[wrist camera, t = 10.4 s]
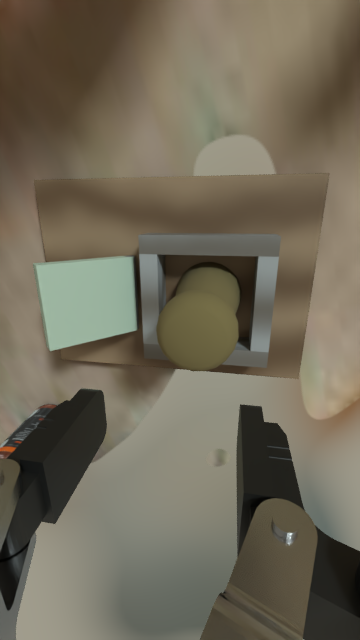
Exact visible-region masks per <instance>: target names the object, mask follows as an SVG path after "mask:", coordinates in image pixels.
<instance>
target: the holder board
mask: <svg viewBox="0 0 360 640" xmlns="http://www.w3.org/2000/svg"><path fill="white" fill-rule="evenodd" d="M328 180H329V173H315V174H272V175H231V176H230V175H229V176H186V177H143V178H100V179H57V180H34V185H35V192H36V198H37V205H38V211H39V218H40V224H41V231H42V237H43V244H44V250H45V257H46V262H57V261H69V260H81V259H92V258H104V257H116V256H128V255H133V256H135V260H136V279H137V298H138V317H139V329H137V330H136V331H132V332H128V333H124V334H119V335H115V336H111V337H107V338H103V339H99V340H94V341H90V342H86V343H82V344H78V345H74V346H69V347H65V348H61V349H60V355H61V359H65V360H77V361H89V362H101V363H114V364H126V365H138V366H150V367H162V368H174V369H184V368H180V367H179V366H177V365H176V364H174V363H172V362H171V361H170V360H169V359H168V358H167V357H166V356H165V355H164V354H163V352H162V350H161V348H160V346H159V344H158V340H157V332H156V327H157V322H158V317H159V315H160V313H161V311H162V310H163V308H164V306H165V305H166V304H167V303H168V302H169V301H170V300H171V299H172V298H174V297H175V295H176V291H177V286H178V282H179V280H180V278H181V277H182V275H183V273H184V272H185V271H187V270H188V269H189V268H190V267H191V266H194V265H196V264H199V263H201V262H215V263H219V264H222V265H224V266H225V267H227V268H229V269H230V270H231V271H232V272H233V273H234V274H235V276H236V277H237V278H238V281H239V283H240V286H241V301H240V304H239V307H238V310H237V312H236V314H235V316H236V318H237V321H238V336H239V338H238V341H237V344H236V347H235V349H234V351H233V352H232V354H231V355H230V356H229V358H228V359H227V360H226V361H225V362H224V363H222V364H221V365H219V366H218V367H216V368H213V369H210V370H206V371H210V372H223V373H235V374H247V375H260V376H270V377H284V378H295V379H298V378H299V372H300V365H301V359H302V352H303V345H304V339H305V332H306V326H307V319H308V312H309V306H310V299H311V292H312V286H313V279H314V273H315V266H316V259H317V253H318V246H319V240H320V233H321V226H322V220H323V213H324V207H325V200H326V193H327V187H328Z"/></svg>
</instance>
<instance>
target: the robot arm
mask: <svg viewBox="0 0 360 640" xmlns="http://www.w3.org/2000/svg"><path fill="white" fill-rule="evenodd" d="M106 428H107V423H106V413H105V403H104V395H103V392H102V391H101V390H93V389H80V390H79V391H78V392H77V394H76V395H75V396H74V397H73V398H72V399H71V400H70V401H67V400H66V401H64V402H63V403H61V404H59V405H58V406H56V407H54V408H53V409H52V410H51V411H50V412H49V413H48V414H47V415H46V417H45V418H44V420H42V421H41V422H40V423H39V424H38V425H37V427H36V428H34V429H33V431H32V432H31V433H30V434H29V435H28V436H27V437H26V438H25V439H24V440H23V441H22V442H21V443H20V444H19V446H18V447H17V448H16V449H15V450H14V451H13V452H12V453H11V454H10V455H9V456H8V457H7V458H6V459H0V640H16V622H17V616H18V611H19V608H20V603H21V600H22V595H23V591H24V588H25V583H26V579H27V576H28V571H29V567H30V564H31V560H32V556H33V551H34V548H35V543H36V534H35V531H36V529H37V528H38V526H39V525H40V523H41V521H42V522H47V523H53V524H55V523H56V522H57V520H58V518H59V516H60V515H61V513H62V511H63V509H64V508H65V506H66V504H67V503H68V501H69V499H70V497H71V496H72V494H73V492H74V490H75V489H76V487H77V485H78V483H79V482H80V480H81V478H82V477H83V475H84V473H85V471H86V470H87V468H88V466H89V464H90V463H91V461H92V459H93V458H94V456H95V454H96V452H97V451H98V449H99V447H100V445H101V444H102V442H103V440H104V437H105V434H106ZM237 549H238V550H237V554H238V555H237V556H238V557H237V561H236V564H235V566H234V569H233V572H232V574H231V577H230V580H229V582H228V585H227V587H226V589H225V591H224V593H220V594H219V595H218V597H217V599H216V601H215V603H214V605H213V608H212V610H211V613H210V615H209V617H208V620H207V623H206V625H205V628H204V630H203V633H202V635H201V638H200V640H302V639H305V640H360V551H358V550H355V549H354V548H351V547H349V546H347V545H345V544H343V543H341V542H338V541H336V540H334V539H333V538H331V537H329V536H328V535H326V534H324V533H323V532H322V531H321V530H320V529H318V528H317V527H316V526H315V525H314V523H313V521H312V519H311V518H310V517H309V515H308V514H307V513H306V512H305V510H304V507H303V504H302V500H301V496H300V491H299V487H298V483H297V479H296V474H295V470H294V466H293V462H292V457H291V453H290V450H289V445H288V441H287V436H286V434H285V433H284V432H283V430H282V429H281V428H280V426H279V425H278V424H277V423H269V422H264V419H263V412H262V407H260V406H250V405H240V411H239V423H238V436H237Z"/></svg>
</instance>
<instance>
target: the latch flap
mask: <svg viewBox="0 0 360 640" xmlns="http://www.w3.org/2000/svg"><path fill="white" fill-rule="evenodd" d="M33 268H34V274H35V280H36V285H37V291H38V297H39V303H40V309H41V315H42V321H43V327H44V333H45V339H46V345H47V347H48V349H49V350H50V351H53V350H57V349H61V348H65V347H69V346H74V345H78V344H82V343H86V342H90V341H94V340H99V339H103V338H107V337H111V336H115V335H119V334H124V333H128V332H132V331H136V330H137V329H139V317H138V298H137V279H136V260H135V256H133V255H128V256H116V257H104V258H92V259H81V260H69V261H57V262H45V263H34V264H33Z"/></svg>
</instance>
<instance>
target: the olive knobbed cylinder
mask: <svg viewBox="0 0 360 640" xmlns="http://www.w3.org/2000/svg"><path fill="white" fill-rule="evenodd" d="M240 301H241V286H240V283H239V281H238V278H237V277H236V276H235V274H234V273H233V272H232V271H231V270H230V269H229V268H227V267H225V266H224V265H222V264H219V263H215V262H201V263H199V264H196V265H194V266H191V267H190V268H189V269H188V270H187V271H185V272H184V273H183V275H182V277H181V278H180V280H179V282H178V286H177V291H176V295H175V297H174V298H172V299H171V300H170V301H169V302H168V303H167V304H166V305H165V306H164V308H163V310H162V311H161V313H160V315H159V317H158V322H157V327H156V332H157V340H158V344H159V346H160V348H161V350H162V352H163V354H164V355H165V356H166V357H167V358H168V359H169V360H170V361H171V362H172V363H174V364H176V365H177V366H179V367H180V368H184V369H187V370H191V371H206V370H210V369H213V368H216V367H218V366H219V365H221V364H222V363H224V362H225V361H226V360H227V359H228V358H229V356H230V355H231V354H232V352H233V351H234V349H235V347H236V344H237V341H238V338H239V336H238V321H237V318H236V316H235V314H236V312H237V310H238V307H239V304H240Z"/></svg>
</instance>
